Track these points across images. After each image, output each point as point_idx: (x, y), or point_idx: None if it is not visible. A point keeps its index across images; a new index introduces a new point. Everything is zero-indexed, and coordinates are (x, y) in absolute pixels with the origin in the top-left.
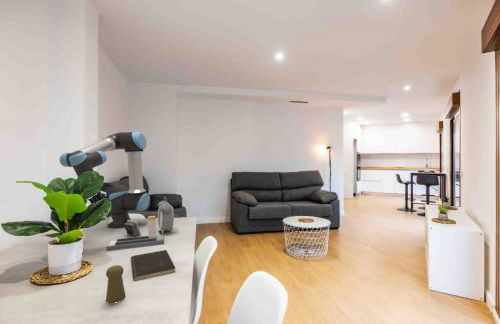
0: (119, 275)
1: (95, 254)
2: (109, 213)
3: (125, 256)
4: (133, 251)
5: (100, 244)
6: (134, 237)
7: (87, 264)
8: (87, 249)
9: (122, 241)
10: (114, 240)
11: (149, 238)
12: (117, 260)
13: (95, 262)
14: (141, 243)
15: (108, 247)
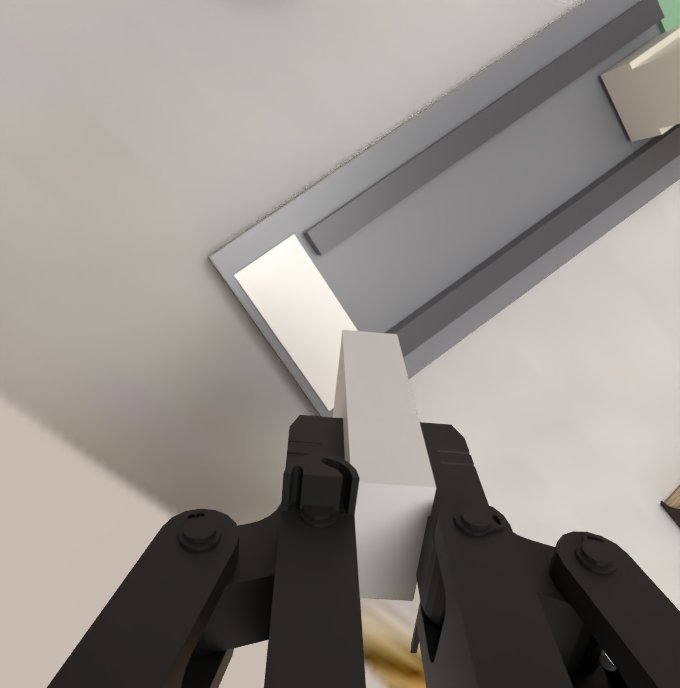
0: None
1: None
2: (470, 475)
3: (582, 466)
4: (577, 357)
5: (79, 281)
6: (468, 135)
7: (410, 680)
8: (79, 449)
9: (375, 239)
10: (251, 230)
11: (647, 135)
12: None
13: None
14: (598, 235)
15: None
